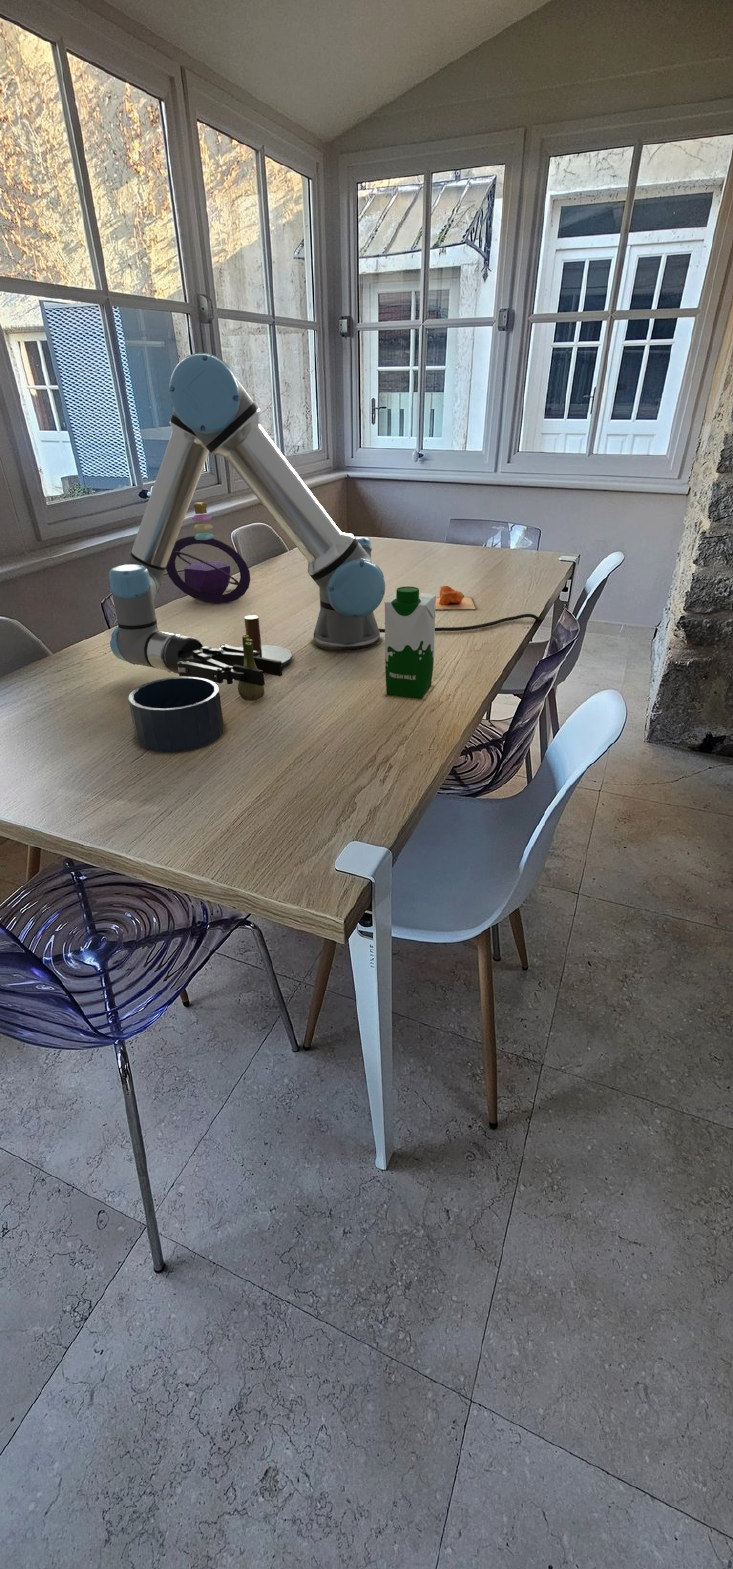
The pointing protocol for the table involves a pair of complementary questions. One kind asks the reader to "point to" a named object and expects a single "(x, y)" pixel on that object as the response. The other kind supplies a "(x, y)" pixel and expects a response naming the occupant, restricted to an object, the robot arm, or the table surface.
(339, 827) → the table surface
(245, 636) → the fennel bulb
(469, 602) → the rock
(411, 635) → the milk carton
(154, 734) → the pot
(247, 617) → the pot lid
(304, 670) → the table surface
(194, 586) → the decorative bottle
